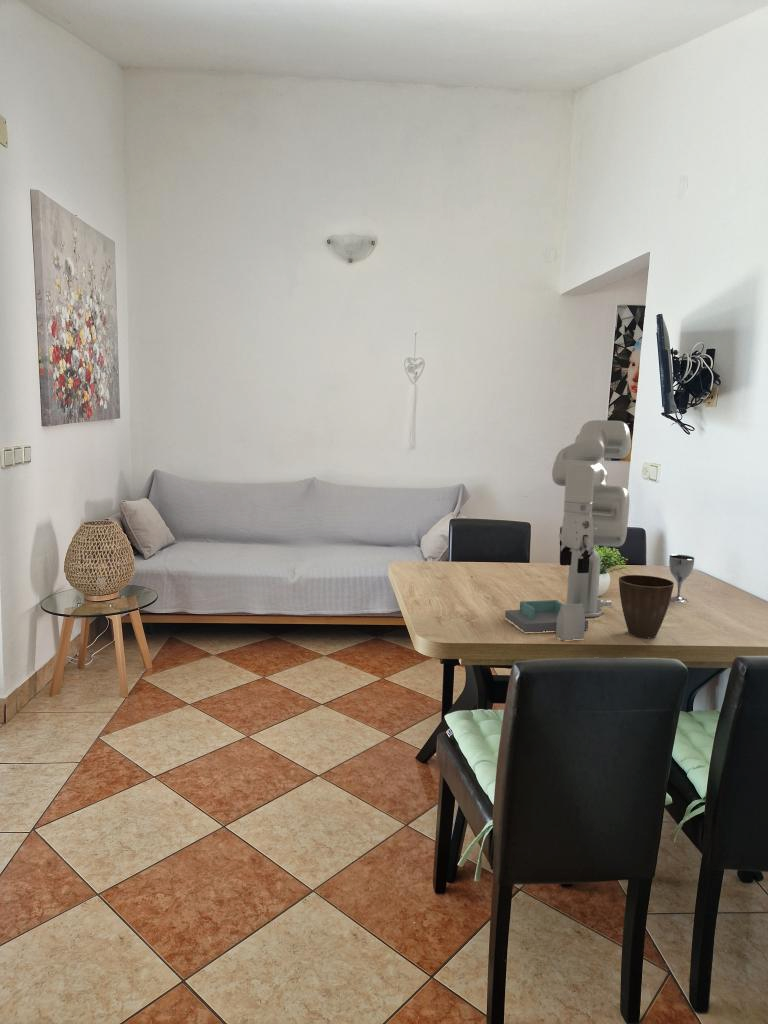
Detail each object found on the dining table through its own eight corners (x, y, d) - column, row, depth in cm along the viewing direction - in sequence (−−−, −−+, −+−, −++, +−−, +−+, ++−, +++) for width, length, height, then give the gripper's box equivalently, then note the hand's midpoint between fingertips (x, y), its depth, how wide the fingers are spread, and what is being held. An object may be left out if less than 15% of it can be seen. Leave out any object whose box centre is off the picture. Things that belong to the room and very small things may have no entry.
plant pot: (605, 633, 210) (609, 579, 208) (629, 623, 221) (633, 572, 219) (655, 646, 200) (659, 589, 198) (678, 635, 210) (682, 581, 208)
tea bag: (583, 639, 204) (586, 605, 203) (562, 641, 202) (564, 606, 201) (576, 635, 208) (578, 601, 206) (555, 637, 206) (557, 603, 204)
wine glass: (664, 600, 249) (668, 557, 247) (667, 595, 256) (670, 553, 254) (689, 603, 246) (693, 560, 243) (691, 598, 253) (695, 556, 250)
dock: (564, 616, 226) (565, 598, 225) (587, 630, 213) (589, 610, 212) (505, 619, 221) (505, 600, 220) (524, 634, 208) (525, 613, 207)
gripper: (607, 512, 192) (602, 575, 194) (574, 503, 209) (571, 562, 211) (581, 512, 190) (577, 576, 193) (550, 503, 207) (547, 562, 209)
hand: (574, 568), depth 202 cm, fingers open, 9 cm apart
